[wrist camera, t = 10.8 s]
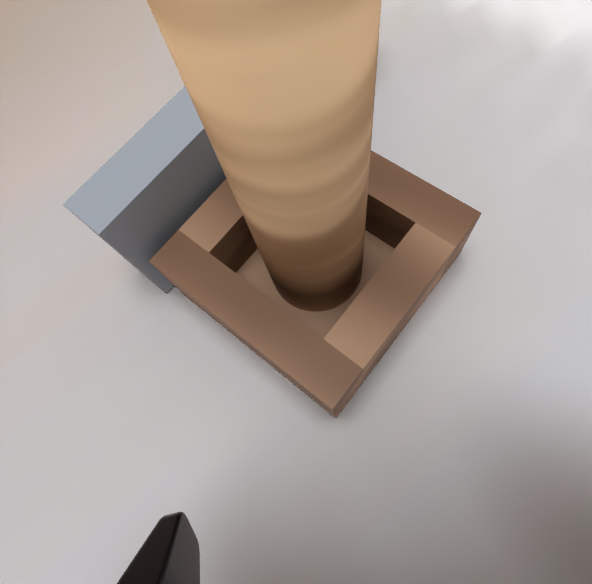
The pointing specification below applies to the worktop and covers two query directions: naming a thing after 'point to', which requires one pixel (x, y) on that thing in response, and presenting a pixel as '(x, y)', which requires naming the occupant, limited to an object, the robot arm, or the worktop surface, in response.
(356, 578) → the worktop surface
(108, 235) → the backstop wall
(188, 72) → the dowel
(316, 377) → the socket block
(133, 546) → the worktop surface
